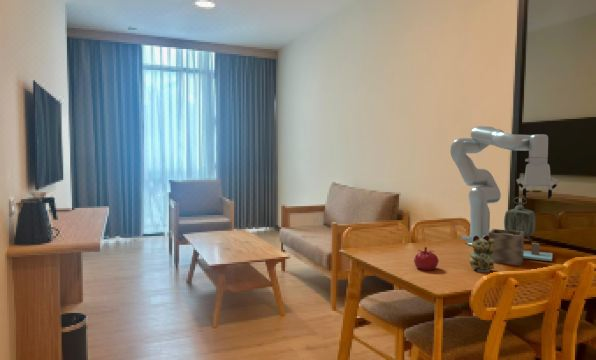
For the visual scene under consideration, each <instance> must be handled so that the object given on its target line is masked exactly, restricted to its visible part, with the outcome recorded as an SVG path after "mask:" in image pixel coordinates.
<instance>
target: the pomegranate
mask: <svg viewBox="0 0 596 360" xmlns="http://www.w3.org/2000/svg"><path fill="white" fill-rule="evenodd" d="M423 248H424V249H423V250H420V249H418V250H417V254H416V255H415V257H414V259H413V263H414V265H415V266H414V267H416V268H417V269H419V270H422V271H432V270H434V269H436V268H437V267H438V265H439V261H440V260H439V257H438V256H437V255H436V254H435V253H436V251H434V250H432V249H431V250H428V247H426V246H424V247H423Z"/></svg>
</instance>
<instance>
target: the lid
mask: <svg viewBox="0 0 596 360" xmlns="http://www.w3.org/2000/svg"><path fill="white" fill-rule="evenodd" d="M523 258H527V259H526V260H532V259H536V260H535V261H541V260H545V261H544V262H548V261H549V262H553V252H545V251H540V243H538V242H531V250H525V249H524V255H523Z"/></svg>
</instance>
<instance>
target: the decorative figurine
mask: <svg viewBox="0 0 596 360" xmlns="http://www.w3.org/2000/svg"><path fill="white" fill-rule="evenodd" d="M494 242H495V240H494V239H489V236H488V235H485V236H484V237H483V238H482V239H479V237H478V236H474V237H473V242H472V246H471V247H472V248H473V250H472V251H470V254H469V256H470V258H469V259H468V260H469V264H470V267H471V268H473V270H474V269H475V270H476V272H479V273H480V272H481V273H490V271H491V269H492V270H493V269H495V266H494V265H495V261H494V259H492V258H490V255H491V254H492V253H493V252H494V248H493V243H494Z"/></svg>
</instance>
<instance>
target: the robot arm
mask: <svg viewBox="0 0 596 360" xmlns="http://www.w3.org/2000/svg"><path fill="white" fill-rule="evenodd" d="M489 146H495V147H496V148H500V149H503V150H509V151H520V152H521V151H525V152H526V151H528V158H525V160H524V161H525V163H526V162H527V164H526V165H525V171H524V172H525V173H524V174H525V175H524V176H521V177H519V178H517V179H516V183H517V185H518V186H519V187H520V188H521V189H522V197H523V198H525V199H527V187H528V186H535V187H536V186H537V187H538V186H539V187H547V189H548V190H547V199H551V198H553V195H552V194H553V189H556V187H557V186H558V184H559V183H560V180H558V179H557V178H555V177H554V176H553V177H552V176H551V167H550V164H549V163H548V158H549V157H548V155H549V152H548V151H549V136H548V135H547V134H542V133H541V134H540V133H539V134H513V133H506V132H504V131H503V130H502V129H500V128H499V129H498V128H495V127H493V126H483V125H480V126H475V127H474V128H472V130H471V132H470V137H460V138H456V139H455V140H453V141H452V143H451V145H450V148H449V149H450V156H451V158H452V161H453V162H454V164H455V165H456V168H457V170H458V171H459V173H460V175H461V178H462V179H463V182H464V183H465V184H466V185H467V186H469V187H472V188H471V189H470V190H469V192H468V200H469V201H468V202H469V206H470V214H469V215H470V217H469V218H470V219H469V221H470V223H469V226H470V227H469V235H468V236H466V235H461V240H463V241H464V240H465V241H466V245H467V246H471V247H473V246H472V242H473V237H474V236H478V237H479V239H482V238H483V237H484V236H485V235H488V236H489V232H490V231H491V230H490V225H491V223H490V220H491V217H490V216H491V215H490V213H491V212H490V208H489V206H488V204H495V203H498V202H499V201H500V199H501V197H502V196H501V194H502V193H501V189H500V188H499V186H498V184H497V182H496V180H495V178H494V176H493V175H492V173H491V172H490V171H489V170H488V169H485V168H477V167H476V165H475V163H474V160H472V158H471V157H469V156H468V155H467V154H478V153H480V152H482V151H484V150H485V149H486V148H488V147H489ZM523 180H524V184H523V183H522V182H521V181H523ZM551 181H552V182H554V184H553V185H551Z"/></svg>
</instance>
